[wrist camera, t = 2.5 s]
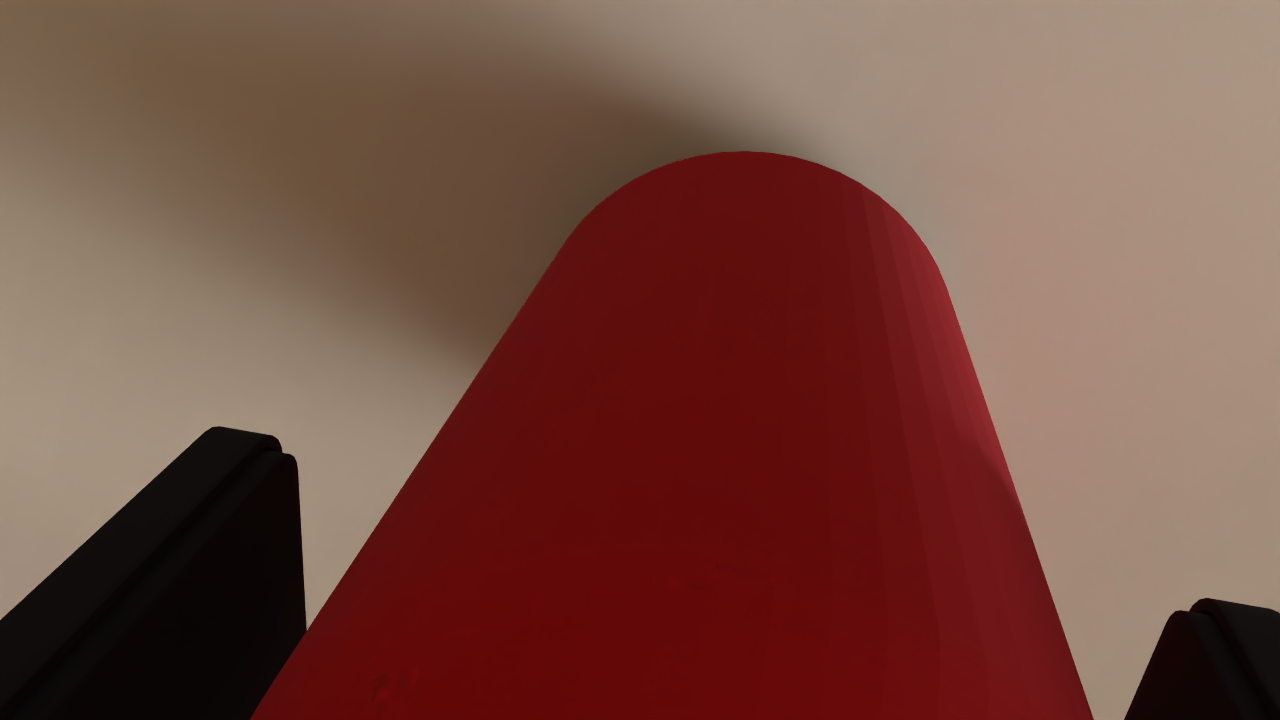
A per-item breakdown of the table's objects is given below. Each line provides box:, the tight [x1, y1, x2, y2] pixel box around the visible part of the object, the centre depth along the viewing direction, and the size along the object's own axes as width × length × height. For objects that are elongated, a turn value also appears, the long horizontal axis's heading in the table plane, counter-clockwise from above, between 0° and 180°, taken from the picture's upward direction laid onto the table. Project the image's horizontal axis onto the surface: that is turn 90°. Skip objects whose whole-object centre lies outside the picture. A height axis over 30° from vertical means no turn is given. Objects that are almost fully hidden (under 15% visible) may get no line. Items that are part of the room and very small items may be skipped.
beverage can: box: [250, 151, 1094, 720], centre depth 11 cm, size 6×6×12 cm
